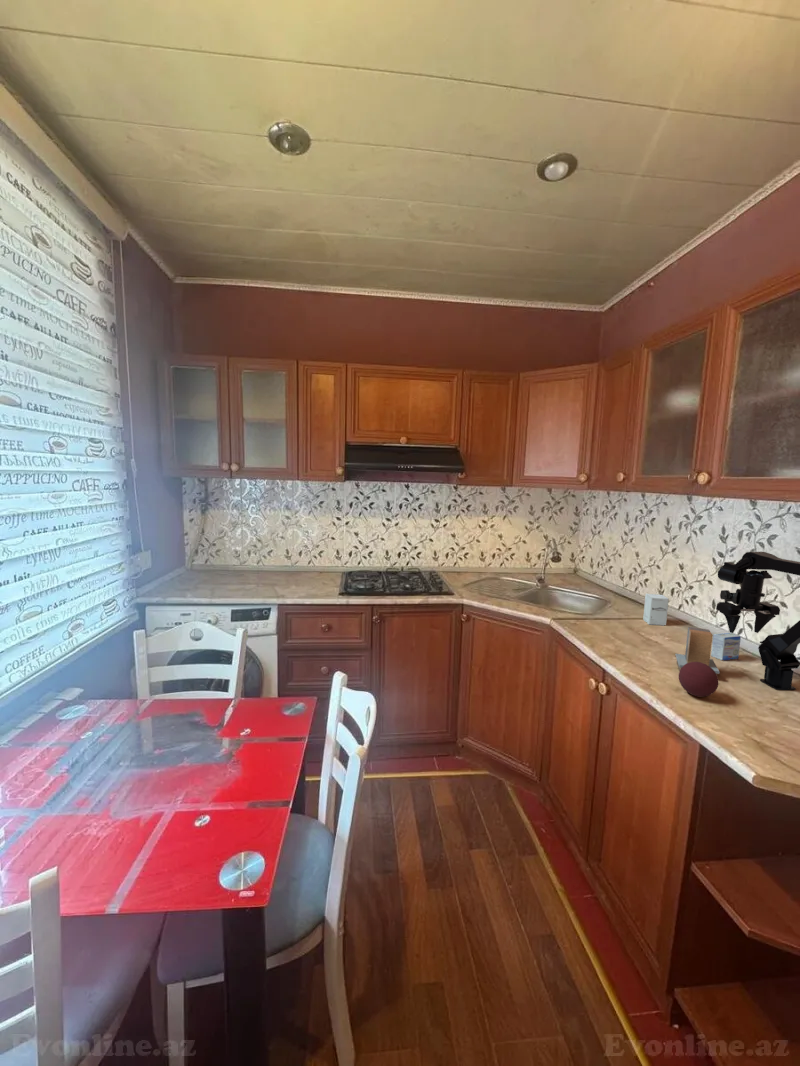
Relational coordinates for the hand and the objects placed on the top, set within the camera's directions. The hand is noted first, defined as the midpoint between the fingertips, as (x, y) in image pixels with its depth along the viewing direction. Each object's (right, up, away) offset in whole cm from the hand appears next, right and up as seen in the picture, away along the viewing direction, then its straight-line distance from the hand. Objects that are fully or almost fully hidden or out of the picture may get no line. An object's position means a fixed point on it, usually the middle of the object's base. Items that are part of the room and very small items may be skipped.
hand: (743, 632), depth 152 cm
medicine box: (+2, -12, +12) cm, 17 cm away
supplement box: (-2, -7, +50) cm, 51 cm away
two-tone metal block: (-17, -10, -1) cm, 19 cm away
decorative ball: (-28, -15, -17) cm, 36 cm away
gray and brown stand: (-17, -13, -1) cm, 21 cm away
